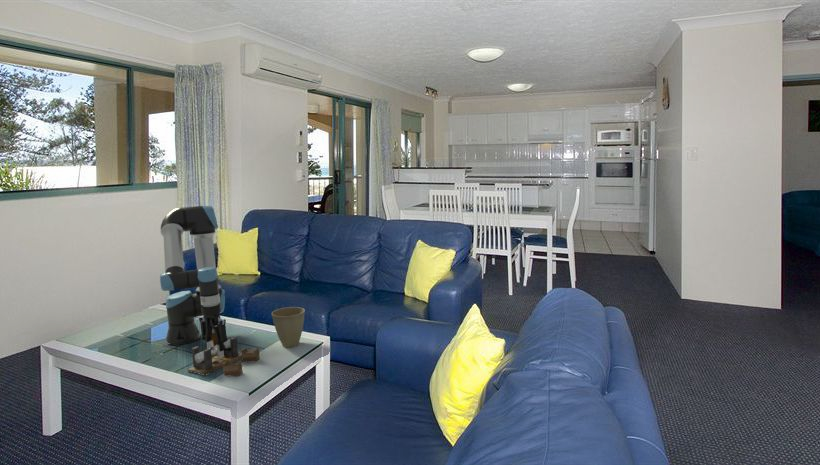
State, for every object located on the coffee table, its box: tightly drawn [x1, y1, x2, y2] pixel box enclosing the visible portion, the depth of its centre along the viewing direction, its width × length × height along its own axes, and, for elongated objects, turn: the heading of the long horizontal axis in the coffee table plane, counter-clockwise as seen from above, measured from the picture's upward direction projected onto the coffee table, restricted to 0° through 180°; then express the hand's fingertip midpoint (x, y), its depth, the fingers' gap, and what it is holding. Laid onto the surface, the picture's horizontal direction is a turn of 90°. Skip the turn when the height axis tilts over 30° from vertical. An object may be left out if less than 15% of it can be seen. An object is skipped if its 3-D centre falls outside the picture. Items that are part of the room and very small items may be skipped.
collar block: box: [187, 336, 242, 376], centre depth 214 cm, size 10×21×10 cm, turn 153°
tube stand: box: [222, 346, 261, 377], centre depth 210 cm, size 17×7×5 cm, turn 167°
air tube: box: [195, 338, 231, 363], centre depth 214 cm, size 18×4×4 cm, turn 152°
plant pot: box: [271, 306, 306, 348], centre depth 233 cm, size 15×15×16 cm
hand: (216, 356), depth 214 cm, fingers open, 5 cm apart
